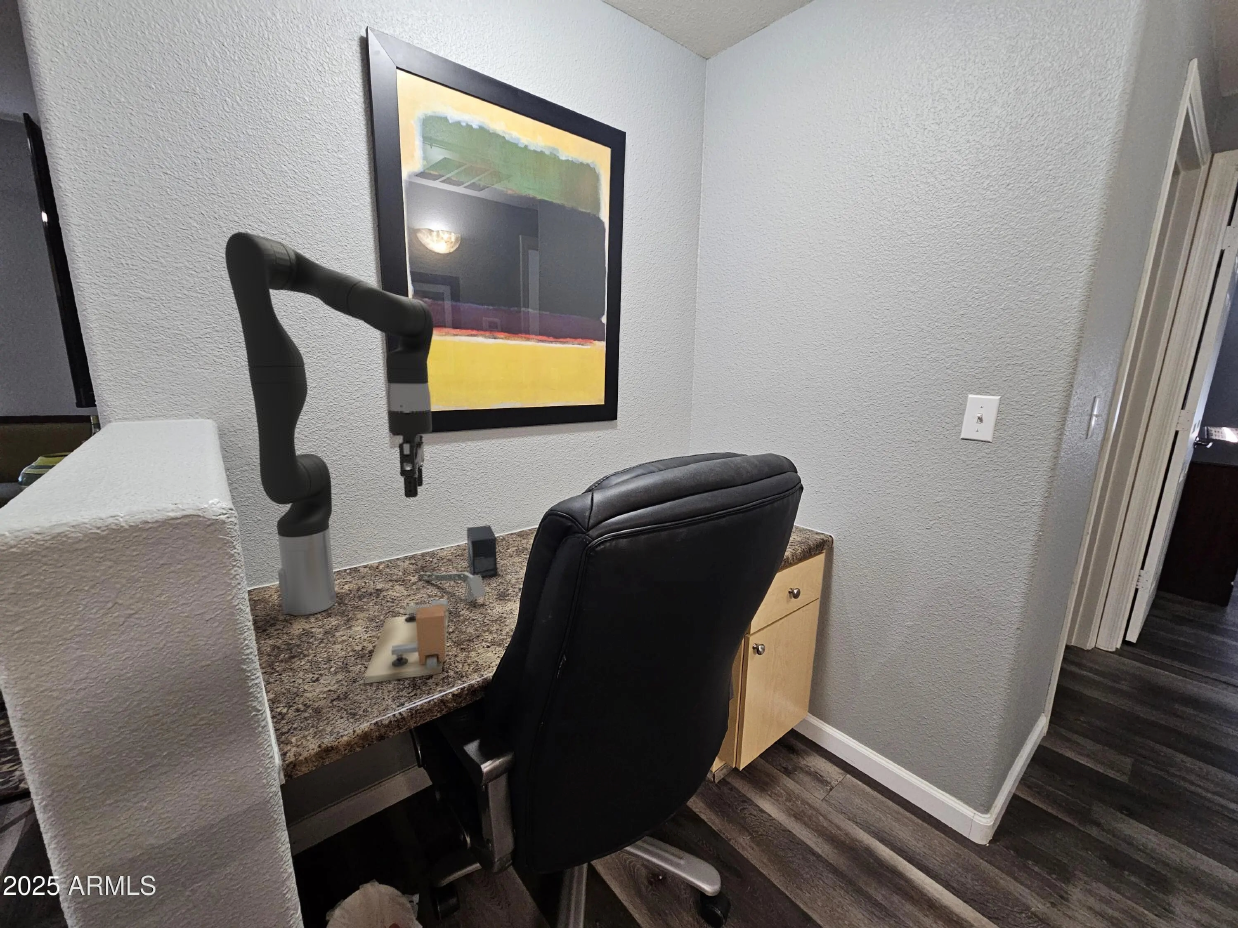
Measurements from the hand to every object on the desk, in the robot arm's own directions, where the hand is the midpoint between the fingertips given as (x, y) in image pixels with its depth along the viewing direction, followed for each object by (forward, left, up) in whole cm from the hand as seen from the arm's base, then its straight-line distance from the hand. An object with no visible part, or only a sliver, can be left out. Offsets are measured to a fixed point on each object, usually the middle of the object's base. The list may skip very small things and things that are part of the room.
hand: (414, 491), depth 94 cm
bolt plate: (-1, -8, -28) cm, 29 cm away
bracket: (+5, +15, -28) cm, 32 cm away
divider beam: (+1, -8, -27) cm, 28 cm away
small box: (+12, +26, -28) cm, 40 cm away
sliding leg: (+1, -15, -27) cm, 31 cm away
